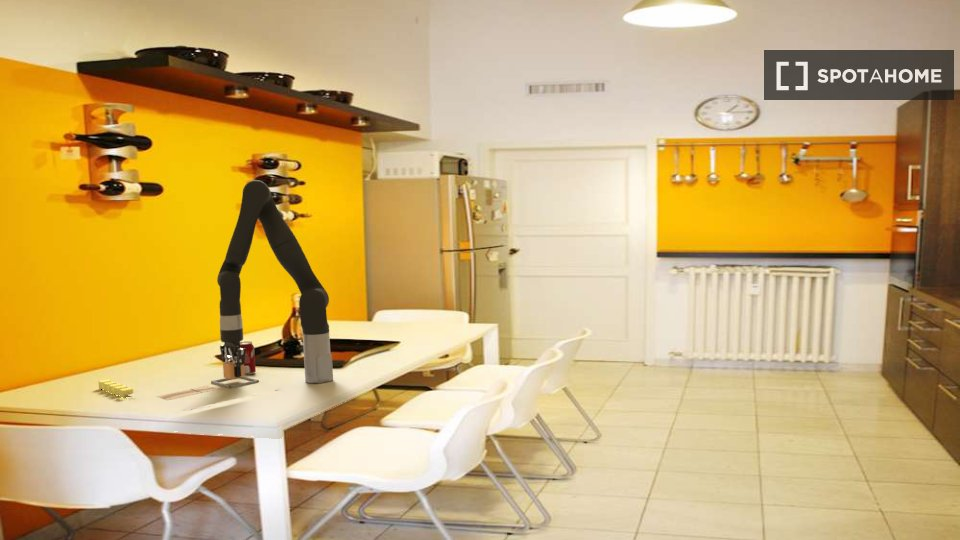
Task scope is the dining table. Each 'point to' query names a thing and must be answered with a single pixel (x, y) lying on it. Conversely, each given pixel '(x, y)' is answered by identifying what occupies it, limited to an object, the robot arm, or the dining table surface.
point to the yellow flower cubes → (115, 388)
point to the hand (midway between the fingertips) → (234, 375)
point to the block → (231, 370)
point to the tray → (236, 384)
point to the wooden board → (187, 392)
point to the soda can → (248, 358)
